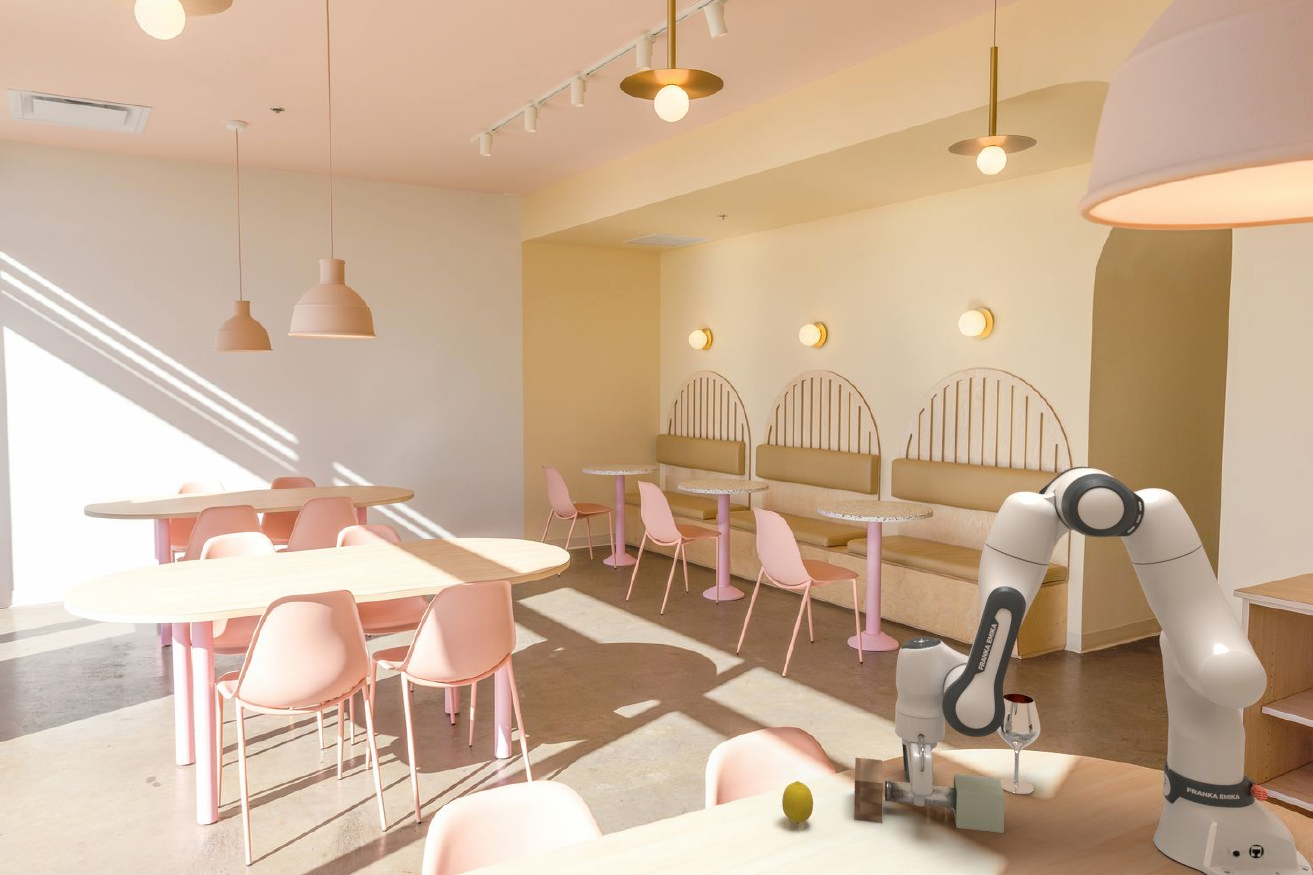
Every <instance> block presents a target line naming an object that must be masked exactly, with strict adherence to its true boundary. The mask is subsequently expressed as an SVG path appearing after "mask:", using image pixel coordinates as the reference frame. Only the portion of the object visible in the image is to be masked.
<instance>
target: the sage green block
mask: <svg viewBox="0 0 1313 875" xmlns="http://www.w3.org/2000/svg"><path fill="white" fill-rule="evenodd" d="M1000 781H1001V779H1000V778H999V777H989V776H981V775H971V774H962V773H953V787H952V788H956V791H957V797H956V809H952V811H953V817H954V823H955V826H956V827H955V828H957V829H965V830H974V831H982V832H991V833H1000V834H1004V833H1005V830H1004V829H1005V800H1006V798H1005V797H1006V796H1005V792H1004V790H1003V789H1002V786H1001V783H1000Z"/></svg>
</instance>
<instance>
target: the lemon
mask: <svg viewBox="0 0 1313 875" xmlns="http://www.w3.org/2000/svg"><path fill="white" fill-rule="evenodd" d="M782 794H783V795H782V799H781V800H782V802H781V803H782V804H781V805H782V806H781V807H782V810H783V813H784V815H785V817H786V818H787V819H788V820H789V821H791V822H793V823H795V825H800V824H802V823H804V822H806V821H807V820H809V818H810V817H811V816H812V814H813V808H814V801H813V800H814V799H813V795H812V792H811V790H810V787H808V786H807V785H806V784H805V783H803V782H800V781H799V780H796V781H794V782H791V783H790V784H788V785H787V786H786V787H785V789H784V791H783V793H782Z"/></svg>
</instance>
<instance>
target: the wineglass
mask: <svg viewBox="0 0 1313 875" xmlns="http://www.w3.org/2000/svg"><path fill="white" fill-rule="evenodd" d="M1003 697H1004V703H1005V718H1004V721H1003V723H1002V725H1001V726H1000V727H999V728H998V729H997V730H996V732H997V733H998V734H999V736H1000V737H1001V739H1003V741H1004V742H1006V743H1007V744H1008V745H1009V746H1010V747H1011V748H1012V750H1013V752H1014V769H1013V770H1014V772H1013V778H1003V779H1002V780H1001V779H1000V783H1001V786H1002V789H1003V791H1005V792H1007V793H1011V794H1013V795H1028V794H1029V795H1030V794H1032V793H1033V792H1034V790H1035V789H1034V786H1033V785H1032V784H1031V783H1030V782H1027V781H1026V780H1025V781H1024V780H1023V779H1019V778H1020V776H1019V770H1020V769H1019V768H1020V753H1021V751H1022V750H1023V749H1025V748H1026V747H1027V746H1030V745H1031V744H1032V743H1034V742H1035V741H1036V740H1037V739H1038V737H1039V736H1040V734H1041V723H1040V718H1039V713H1038V709H1037V706H1036V702H1035V699H1034V698H1033V697H1031V696H1030V695H1026V694H1023V693H1017V692H1011V693H1005V694H1003Z"/></svg>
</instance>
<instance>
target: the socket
mask: <svg viewBox="0 0 1313 875" xmlns="http://www.w3.org/2000/svg"><path fill="white" fill-rule="evenodd" d="M883 771H884V770H883V760H882V759H874V758H863V757H855V764H854V804H853V805H854V807H853V810H854V811H853V818H854V819H853V820H854V821H859V822H860V821H861V822H868V823H877V824H883V808H884V807H883V805H884V804H883V800H884V799H883V797H884V794H883V793H884V792H883V790H884V778H883V777H884V775H883V773H884V772H883Z"/></svg>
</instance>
